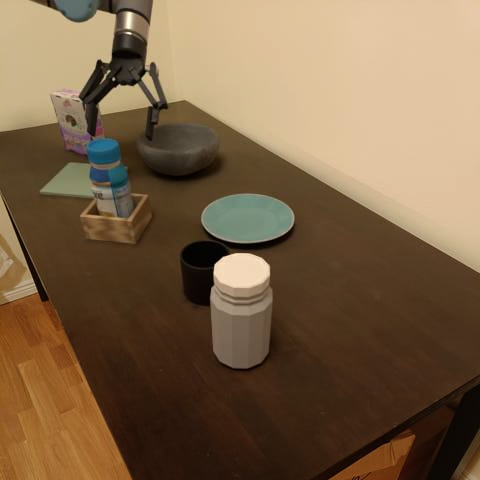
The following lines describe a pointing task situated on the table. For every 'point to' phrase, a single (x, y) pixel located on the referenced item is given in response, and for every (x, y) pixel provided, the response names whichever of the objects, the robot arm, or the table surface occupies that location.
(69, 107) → the candy box
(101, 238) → the wooden box
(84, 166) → the mat
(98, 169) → the beverage bottle
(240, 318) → the jar
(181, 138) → the bowl
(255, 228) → the plate
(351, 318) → the table surface
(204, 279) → the mug
